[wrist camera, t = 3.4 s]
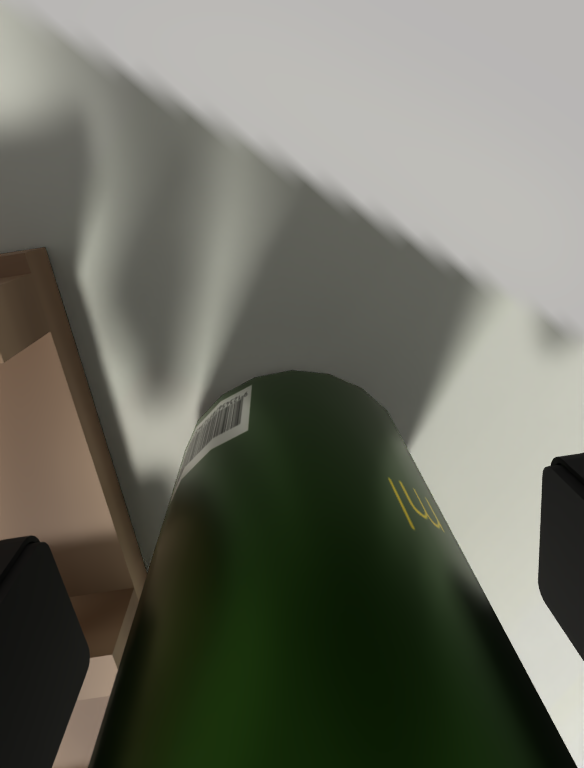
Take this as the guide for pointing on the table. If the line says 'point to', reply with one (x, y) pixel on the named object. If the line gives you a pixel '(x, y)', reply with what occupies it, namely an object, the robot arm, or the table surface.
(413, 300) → the table surface
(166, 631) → the beer can
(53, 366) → the rack
